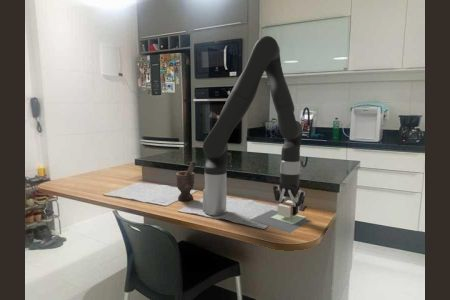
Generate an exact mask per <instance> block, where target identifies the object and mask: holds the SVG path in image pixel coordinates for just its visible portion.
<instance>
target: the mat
mask: <svg viewBox="0 0 450 300" xmlns="http://www.w3.org/2000/svg"><path fill="white" fill-rule="evenodd" d="M249 221H251V222H254V223H256V224H257V223H258V224H260V225H263V226H266V227H269V228H273V229H276V230H279V231H282V232H284V233H288V234H291V233H293V232H294V231H296V230H297V229H300V228H301V227H302V226H304V225H306V224H307V223H309V222H311V220H310V219H306V216H304V215H300V214H297V215H295V216H294V215H293V216H291V217H289V218H288V217H284V216H281V215H278V210H275V209H270V210H268V211H266V212H264V213H262V214H259V215H257V216H255V217H252V218H251V219H249Z"/></svg>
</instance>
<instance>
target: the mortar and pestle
mask: <svg viewBox="0 0 450 300" xmlns="http://www.w3.org/2000/svg"><path fill="white" fill-rule="evenodd" d="M196 166H197V160H192V161H190V164H189V165H188V169H187V170H181V171H177V172H176V173H175V178H176V187H177V189H178V191H180V194H178V197H177V200H178V201H181V202H191V201H193V200H194V195H193V194H192V193H191V191H192V190H193V189H194V186H195V171H194V169H195V168H196Z"/></svg>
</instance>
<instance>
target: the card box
mask: <svg viewBox="0 0 450 300" xmlns="http://www.w3.org/2000/svg"><path fill="white" fill-rule="evenodd" d="M277 211H278V215H281V216H284V217H288V218H289V217H291V216H293V203H292V201H291V199H290V200H289V199H288V200H286V201H284V202H282V203H280V204H277ZM299 212H300V211H299V206H298V213H299Z"/></svg>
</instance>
